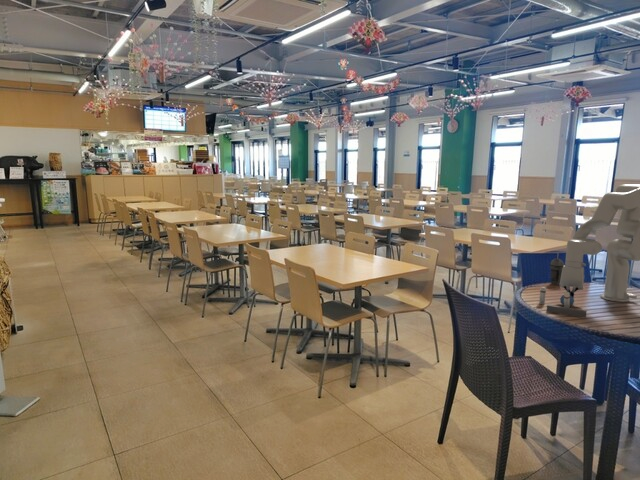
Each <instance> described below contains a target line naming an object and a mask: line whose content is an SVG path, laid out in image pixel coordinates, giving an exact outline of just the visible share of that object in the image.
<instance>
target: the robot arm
mask: <svg viewBox="0 0 640 480" xmlns="http://www.w3.org/2000/svg"><path fill="white" fill-rule="evenodd" d="M618 211H621V213H620V215H619V216H620V217H619V219H618V222H617V226H616V234H617V236H619V237H622V238H627V239H632V241H631V240H627V239H621V238H619V239H618V238H616V239H612V240H610V241H609V242H608V243H607V247H606V254H607V267H606V274H605V275H606V276H605V283H604V284H605V285H604V293H601V294H600V295H599V297H600V298H601V299H603V300H606V301H610V302H611V301H612V302H617V303H626V302H630V299H635V300H637V299H638V295H637V294H634V293H633V294H632V293H629V292H628V282H629V275H630V263H629V261H634V262H640V184H634V183H633V184H630V183H628V184H624V183H623V184H620V185H618V186H617V187H616V189H615V192H607V193H605V194H603V196H602V198H601V200H600V202H599V204H598V206H597V207H596V209H595V211H594V213H593V216H592V217H591V218H590V219H589V220H587V221H586V222H584V223H583V224H582V225H580V226H579V227H578V229H577V230H576V231H575V232H574V235H573V237H572V239H569V240H567V242H566V251H565V261H564V266H563V269H562V273H561V279H560V285H558V286H559V287H561V288H563V289H564V290H565V292H569V293H570V295H571V296H572V297H573V298H575V292H577V291H581V290H582V291H583V290H584V283H585V268H584V267H586V266H587V264H586V263H585V262H584V255H588V256H595V255H597V254H600V253H601V251H602V244H601V243H600V242H599V241H598V240H594V239H591V238H588V236H589V235H590V234H591V233H592V232H594V231H597V230H600V229H603V228H606V227H609V226H610V225H611V223H612V222H613V220H614V218H615V216H616V214H617V212H618ZM571 287H572V289H571Z"/></svg>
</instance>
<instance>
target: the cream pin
mask: <svg viewBox="0 0 640 480" xmlns="http://www.w3.org/2000/svg"><path fill="white" fill-rule="evenodd" d="M563 295H564V305H563V307H566V308H571V306H570V293H569V292H567V291H564V293H563Z"/></svg>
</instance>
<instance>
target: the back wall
mask: <svg viewBox="0 0 640 480" xmlns="http://www.w3.org/2000/svg"><path fill="white" fill-rule="evenodd" d="M587 311H588V310H583V309H578V308H571V307H570V308H566V307H564V306H558V305H554V304H547V305H546V313H554V314H559V315H564V316H570V317H571V316H572V317H575V318H582V319H586V318H587Z"/></svg>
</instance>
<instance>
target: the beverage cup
mask: <svg viewBox="0 0 640 480" xmlns="http://www.w3.org/2000/svg"><path fill="white" fill-rule="evenodd" d="M559 251H560V250H557V256H556V257H557V258H556V257H555V258H553V259H552V260H551V262H550V263H549V266H550V284H551V285H554V286H559V285H560V279H561V273H562V269H563V266H564V265H565V262H564V261H563V259H561V258H559V253H560V252H559Z"/></svg>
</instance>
